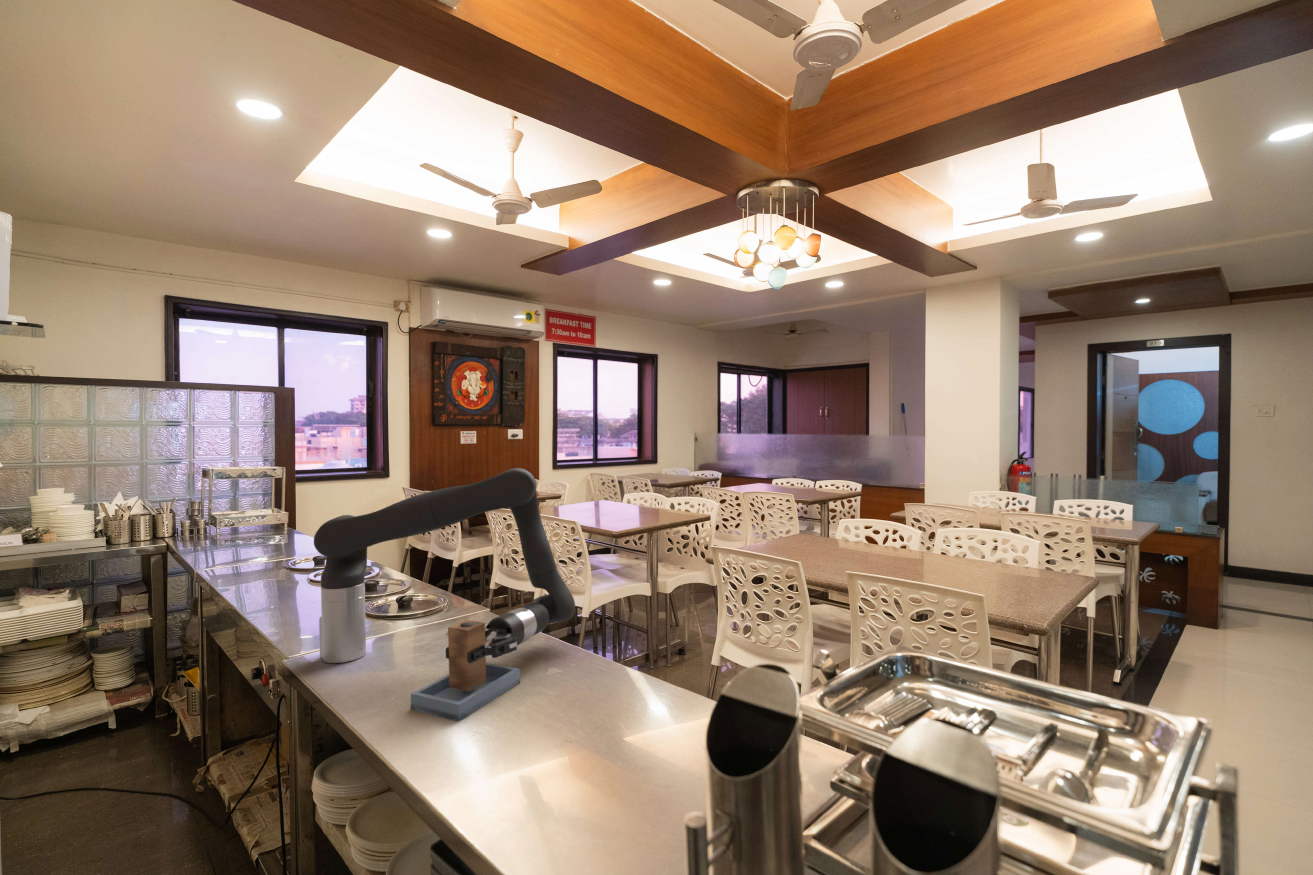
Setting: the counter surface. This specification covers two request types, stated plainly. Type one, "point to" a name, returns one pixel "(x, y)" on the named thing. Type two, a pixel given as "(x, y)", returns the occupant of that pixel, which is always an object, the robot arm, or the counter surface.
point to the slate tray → (464, 693)
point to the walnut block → (460, 643)
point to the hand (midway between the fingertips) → (458, 655)
